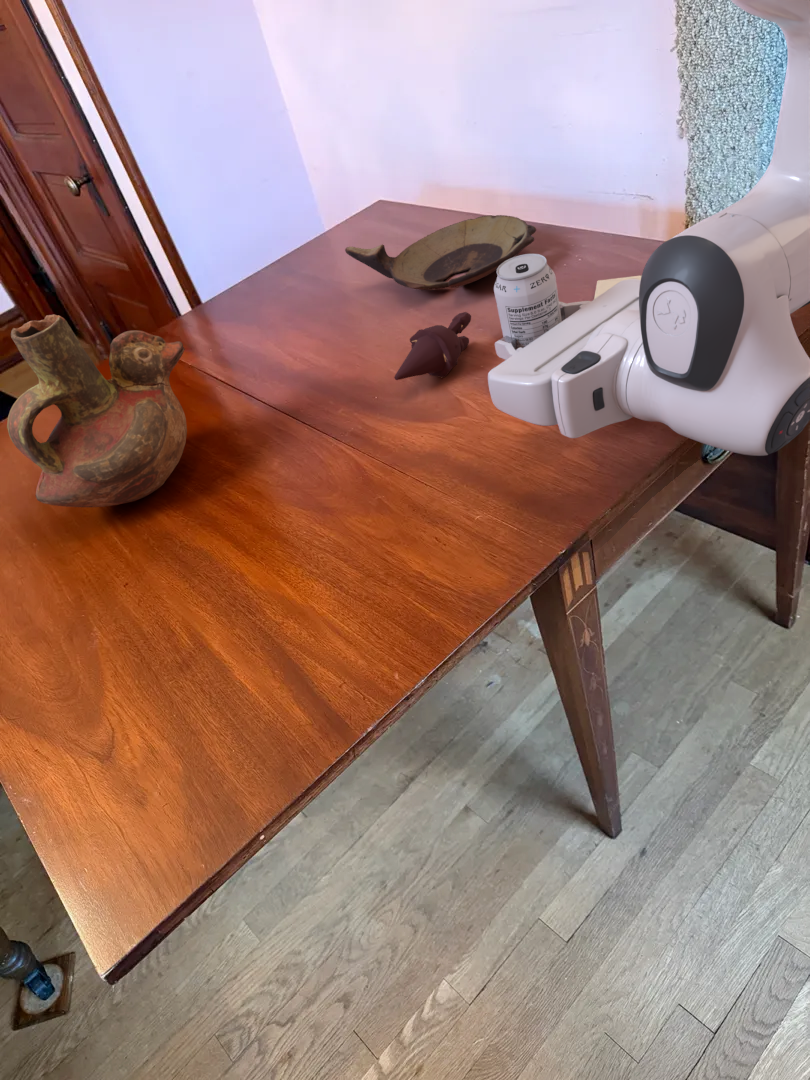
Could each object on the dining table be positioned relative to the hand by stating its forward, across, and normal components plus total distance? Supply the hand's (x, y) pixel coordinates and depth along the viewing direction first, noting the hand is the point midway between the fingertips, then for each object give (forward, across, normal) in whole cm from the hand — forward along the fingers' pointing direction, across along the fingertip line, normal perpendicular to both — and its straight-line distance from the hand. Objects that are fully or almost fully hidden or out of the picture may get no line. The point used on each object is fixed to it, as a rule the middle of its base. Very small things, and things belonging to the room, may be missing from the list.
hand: (525, 328), depth 77 cm
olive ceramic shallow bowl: (+45, -23, +14) cm, 53 cm away
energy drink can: (-1, 0, +8) cm, 8 cm away
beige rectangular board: (+10, -31, +14) cm, 35 cm away
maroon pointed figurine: (+23, -3, +14) cm, 27 cm away
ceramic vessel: (+40, +36, +14) cm, 56 cm away
